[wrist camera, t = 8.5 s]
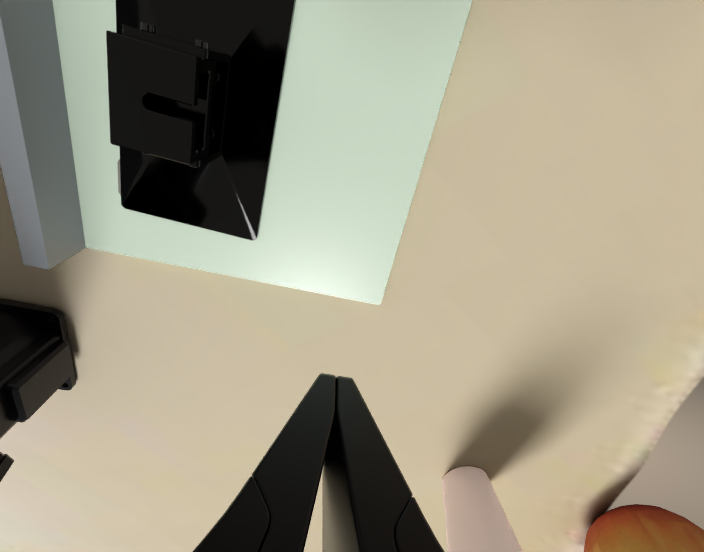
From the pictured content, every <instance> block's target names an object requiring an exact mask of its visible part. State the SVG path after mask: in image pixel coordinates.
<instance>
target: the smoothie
mask: <svg viewBox="0 0 704 552" xmlns="http://www.w3.org/2000/svg"><path fill="white" fill-rule="evenodd" d="M442 486H443V498H444V510H445V522H446V535H447V547H448V552H523V551H522V548H521V546H520V544H519V542H518V540H517V538H516V536H515V533H514V531H513V529H512V527H511V525H510V523H509V521H508V519H507V516H506V514H505V512H504V510H503V508H502V506H501V504H500V501H499V499H498V497H497V495H496V493H495V491H494V489H493V486H492V484H491V482H490V480H489V478H488V476H487V474H486V473H485V472H484V471H483V470H482V469H480V468H477V467H471V466H464V467H458V468H455V469H453V470H451V471H449V472H448V473H447V474H446V475H445V476H444V477H443V480H442Z"/></svg>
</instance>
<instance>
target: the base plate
mask: <svg viewBox="0 0 704 552" xmlns="http://www.w3.org/2000/svg"><path fill="white" fill-rule="evenodd" d="M471 3H472V0H296V4H295V10H294V16H293V22H292V29H291V35H290V41H289V47H288V54H287V60H286V66H285V72H284V78H283V85H282V91H281V97H280V103H279V109H278V116H277V122H276V128H275V134H274V141H273V147H272V153H271V159H270V165H269V172H268V178H267V184H266V190H265V197H264V203H263V209H262V215H261V221H260V228H259V234H258V237H257V238H256V240H253V241H252V240H248V239H244V238H240V237H236V236H232V235H228V234H224V233H220V232H216V231H212V230H208V229H204V228H200V227H196V226H192V225H188V224H184V223H180V222H176V221H172V220H168V219H164V218H160V217H156V216H152V215H148V214H144V213H140V212H136V211H132V210H128V209H125V208H124V207H123V206H122V205H121V195H120V194H119V192H118V164H117V162H118V160H119V159H120V146H116V145H113V144H111V143H110V121H109V95H108V68H107V42H106V31H107V30H108V31H113V32H116V0H0V165H1V169H2V174H3V178H4V182H5V187H6V191H7V196H8V200H9V204H10V209H11V213H12V218H13V222H14V226H15V231H16V235H17V240H18V244H19V248H20V253H21V257H22V261H23V265H27V266H33V267H38V268H43V269H48V270H49V269H51V268H53V267H54V266H56V265H58V264H59V263H61V262H63V261H64V260H66V259H68V258H69V257H71V256H73V255H74V254H76V253H78V252H79V251H81V250H83V249H84V248H90V249H95V250H100V251H106V252H111V253H116V254H121V255H126V256H131V257H136V258H141V259H146V260H152V261H157V262H162V263H167V264H172V265H177V266H182V267H187V268H192V269H197V270H203V271H208V272H213V273H218V274H223V275H228V276H233V277H238V278H243V279H249V280H254V281H259V282H264V283H269V284H274V285H279V286H284V287H289V288H294V289H300V290H305V291H310V292H315V293H320V294H325V295H330V296H335V297H340V298H346V299H351V300H356V301H361V302H366V303H371V304H376V305H380V304H381V301H382V298H383V294H384V291H385V288H386V285H387V281H388V278H389V275H390V271H391V268H392V265H393V261H394V258H395V255H396V251H397V248H398V245H399V242H400V238H401V235H402V232H403V228H404V225H405V222H406V218H407V215H408V212H409V208H410V205H411V202H412V199H413V195H414V192H415V189H416V185H417V182H418V179H419V175H420V172H421V169H422V165H423V162H424V159H425V155H426V152H427V149H428V146H429V142H430V139H431V136H432V132H433V129H434V126H435V122H436V119H437V116H438V112H439V109H440V106H441V103H442V99H443V96H444V93H445V89H446V86H447V83H448V79H449V76H450V73H451V69H452V66H453V63H454V60H455V56H456V53H457V50H458V46H459V43H460V40H461V36H462V33H463V30H464V26H465V23H466V20H467V16H468V13H469V10H470V7H471Z"/></svg>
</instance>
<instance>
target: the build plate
mask: <svg viewBox="0 0 704 552" xmlns="http://www.w3.org/2000/svg"><path fill="white" fill-rule="evenodd" d="M295 4H296V0H116V32H113V31H108V30H107V31H106V42H107V68H108V95H109V121H110V143H111V144H113V145H116V146H120V159H119V160H118V162H117V164H118V192H119V194H120V195H121V205H122V206H123V207H124V208H125V209H128V210H132V211H136V212H140V213H144V214H148V215H152V216H156V217H160V218H164V219H168V220H172V221H176V222H180V223H184V224H188V225H192V226H196V227H200V228H204V229H208V230H212V231H216V232H220V233H224V234H228V235H232V236H236V237H240V238H244V239H248V240H252V241H253V240H256V238H257V237H258V234H259V228H260V221H261V215H262V209H263V203H264V197H265V190H266V184H267V178H268V172H269V165H270V159H271V153H272V147H273V141H274V134H275V128H276V122H277V116H278V109H279V103H280V97H281V91H282V85H283V78H284V72H285V66H286V60H287V54H288V47H289V41H290V35H291V29H292V22H293V16H294V10H295Z"/></svg>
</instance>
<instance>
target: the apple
mask: <svg viewBox="0 0 704 552" xmlns="http://www.w3.org/2000/svg"><path fill="white" fill-rule="evenodd" d="M584 552H704V530H703V529H701V528H700V527H698V526H697V525H695V524H694V523H692V522H691V521H689V520H687V519H686V518H684V517H682V516H679V515H677V514H675V513H673V512H670V511H667V510H665V509H662V508H660V507H656V506H650V505H638V504H635V505H626V506H620V507H618V508H615V509H612V510H609V511H607V512H606V513H604V514H603V515H601V516H600V517H598V518H597V519H596V521H595V522H594V523H593V524H592V525H591V527H590V528H589V530H588V532H587V536H586V540H585V546H584Z"/></svg>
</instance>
